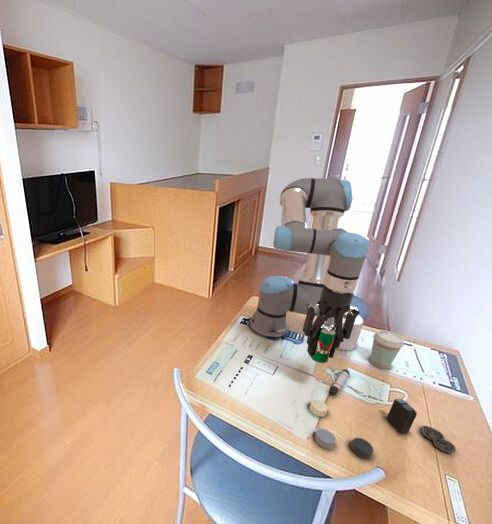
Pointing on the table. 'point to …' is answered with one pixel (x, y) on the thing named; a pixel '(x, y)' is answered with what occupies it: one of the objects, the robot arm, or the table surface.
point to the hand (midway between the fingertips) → (319, 354)
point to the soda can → (324, 343)
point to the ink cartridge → (401, 415)
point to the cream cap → (318, 408)
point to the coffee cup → (385, 348)
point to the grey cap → (325, 438)
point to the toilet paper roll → (355, 333)
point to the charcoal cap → (362, 448)
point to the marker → (339, 382)
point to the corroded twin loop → (438, 439)
